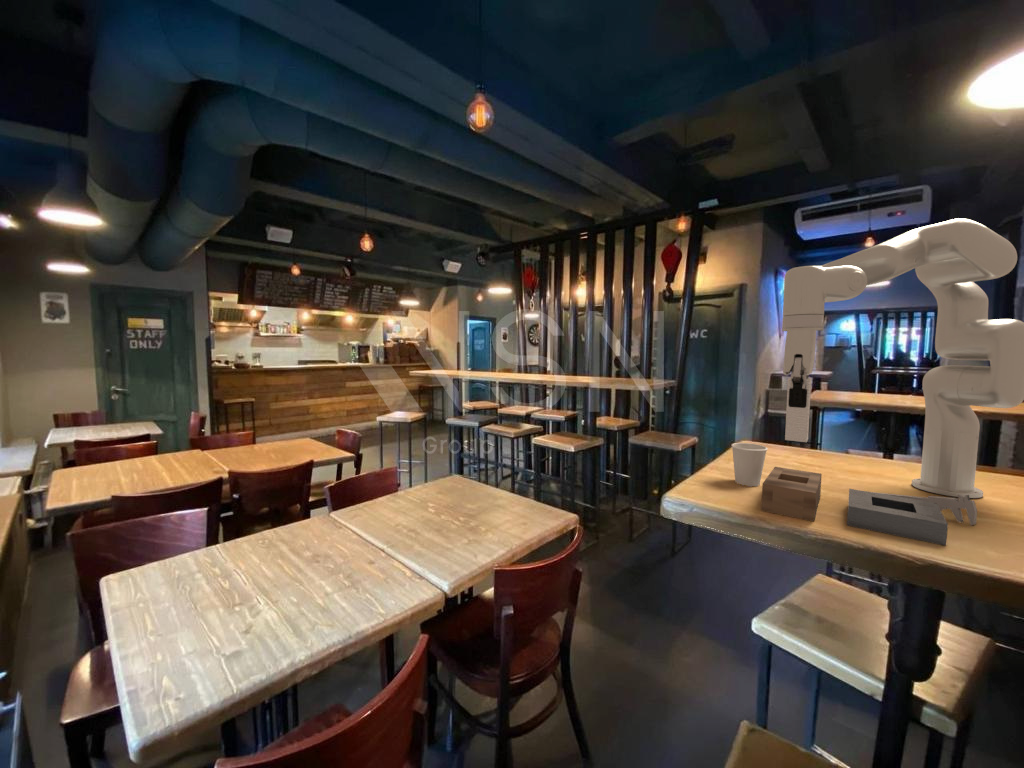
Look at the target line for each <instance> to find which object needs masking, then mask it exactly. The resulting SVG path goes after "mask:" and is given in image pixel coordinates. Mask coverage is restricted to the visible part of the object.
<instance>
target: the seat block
mask: <svg viewBox="0 0 1024 768" xmlns="http://www.w3.org/2000/svg"><path fill="white" fill-rule="evenodd" d="M848 489H849V490H848V501H847V503H848V504H847V518H846V520H847V521H846V526H849V527H854V528H858V529H863V530H867V531H873V532H878V533H883V534H887V535H892V536H896V537H901V538H907V539H910V540H911V539H912V540H915V541H916V540H917V541H921V542H926V543H931V544H936V545H940V546H947V541H948V540H947V538H948V528H949V527H948V526H949V524H948V522H947V519H946V518H945V517H944V514H943V513H942V510H940V508H939V507H938V505H937V503H934V502H928V501H922V500H916V499H910V498H903V497H897V496H891V495H885V494H879V493H880V492H876V493H873V492H874V491H868V490H867V491H865V490H860V489H854V488H848Z"/></svg>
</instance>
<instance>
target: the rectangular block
mask: <svg viewBox="0 0 1024 768" xmlns="http://www.w3.org/2000/svg"><path fill="white" fill-rule="evenodd" d="M802 379H803V378H802ZM790 382H791V376H790V377H788V378H787V388H786V389H787V390H786V408H785V409H786V410H785V411H786V412H785V433H784V434H785V435H784V441H790V442H791V441H792V442H801V443H807V442H808V440H809V432H810V431H809V429H810V409H811V390H812V377H808V378H806V388H805V390H807V399H806V407H805V408H798V407H789V389H790ZM802 383H803V382H802Z"/></svg>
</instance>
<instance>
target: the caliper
mask: <svg viewBox="0 0 1024 768" xmlns="http://www.w3.org/2000/svg"><path fill="white" fill-rule="evenodd" d="M872 492H873V493H877V492H876V491H875V492H874V491H872ZM878 493H879V494H885V495H891V496H897V497H903V498H910V499H916V500H922V501H928V502H934V503H937V505H938V507H939V508H940V510H941V511H944V510H950V511H951V513H952V514H953V516H954V518H955V519H956V522H957V523H959V522H961V524H963V523H964V517H963V513H962V510H965V511H966V514H967V518H968V522H969V525H970V526H974V525H976V524H977V517H978V509H977V506H976V503H975V500H972V499H971V498H970V497H969V494H968V495H965V497H963V496H962V494H958V497H949V496H947V497H944V496H937V495H935V496H934V495H929V496H927V497H926V496H925V497H924V496H914V495H907V494H905V495H904V494H897V493H896V494H895V493H885V492H878ZM962 522H963V523H962Z"/></svg>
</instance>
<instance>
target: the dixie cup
mask: <svg viewBox="0 0 1024 768" xmlns="http://www.w3.org/2000/svg"><path fill="white" fill-rule="evenodd" d="M731 448H732V449H731V450H732V460H733V469H734V481H735V483H736V482H737V483H736V484H738V483H739V484H738V485H740V484H742V485H741V486H744V485H747V486H746V487H752V486H755V487H759V486H760V485H761V479H762V475H763V469H764V466H765V459H766V454H767V451H768V447H767V446H765V445H762V444H757V443H751V442H735V443H732V444H731ZM758 485H759V486H758Z"/></svg>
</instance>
